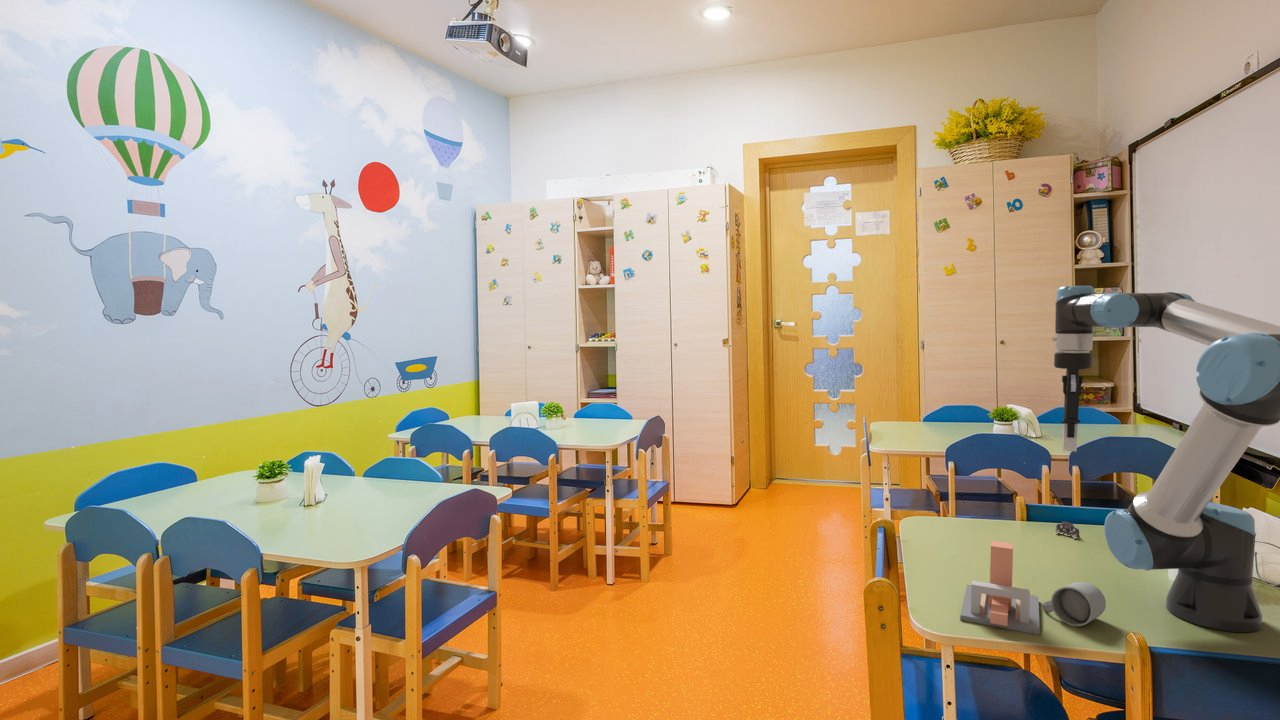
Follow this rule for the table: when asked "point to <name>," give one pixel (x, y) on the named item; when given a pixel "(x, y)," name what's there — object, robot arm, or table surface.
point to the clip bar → (1000, 580)
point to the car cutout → (1067, 529)
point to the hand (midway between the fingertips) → (1069, 450)
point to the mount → (1019, 617)
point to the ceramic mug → (1076, 603)
